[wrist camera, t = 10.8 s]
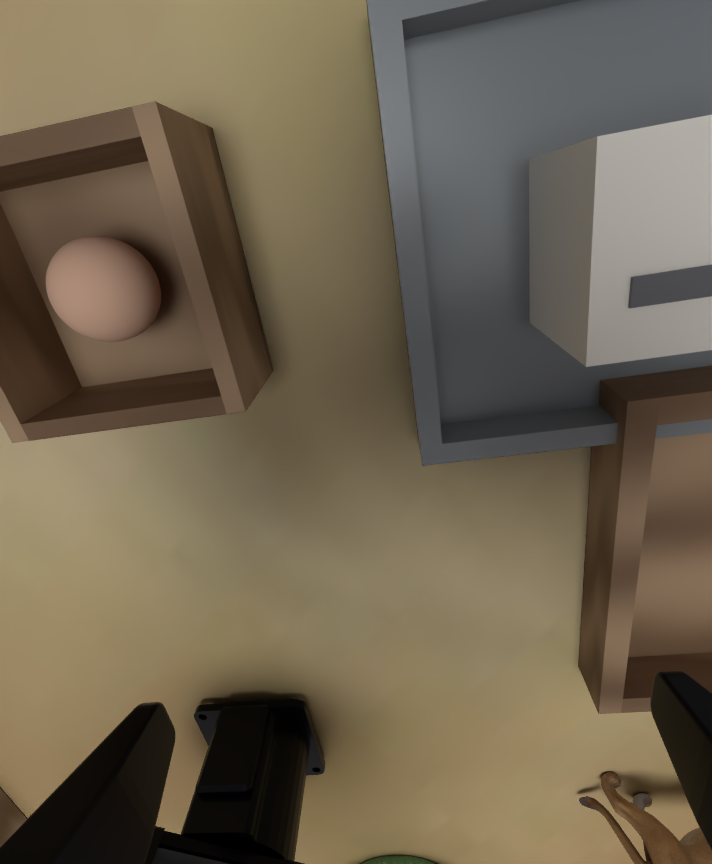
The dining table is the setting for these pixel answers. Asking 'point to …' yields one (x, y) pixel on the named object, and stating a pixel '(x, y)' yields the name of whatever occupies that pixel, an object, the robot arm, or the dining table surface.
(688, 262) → the letter cube
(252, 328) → the box
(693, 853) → the lion figurine
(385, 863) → the ramekin
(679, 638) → the brown wooden tray
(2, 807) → the woven basket
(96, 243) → the ball
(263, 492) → the dining table surface
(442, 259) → the tray
